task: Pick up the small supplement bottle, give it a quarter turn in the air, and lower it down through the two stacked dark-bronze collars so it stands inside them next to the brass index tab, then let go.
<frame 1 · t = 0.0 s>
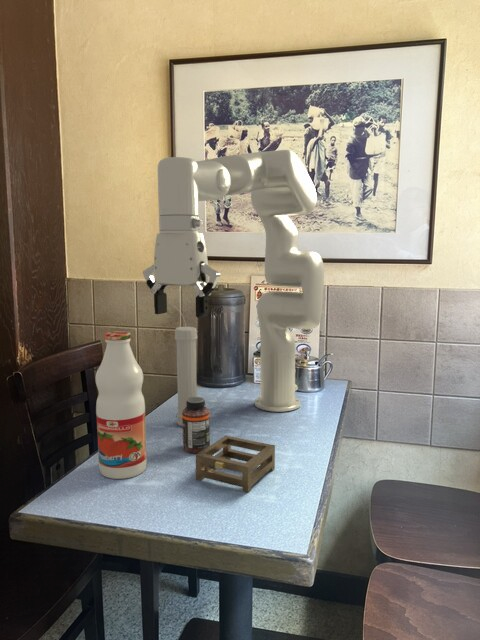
hand: (181, 315, 102), 31 cm above the table, tool pointing down, fingers open, 9 cm apart
supplement bottle: (196, 449, 116), on the table
collar stand: (236, 474, 104), on the table
pipe: (186, 424, 132), on the table
fruit juice: (123, 470, 106), on the table
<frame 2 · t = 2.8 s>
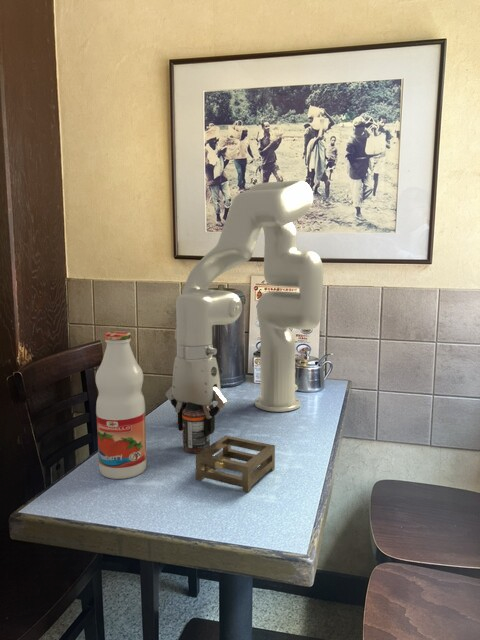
hand: (196, 430, 116), 4 cm above the table, tool pointing down, fingers closed on supplement bottle, 6 cm apart
supplement bottle: (196, 449, 116), on the table, touching gripper
everything else where it was.
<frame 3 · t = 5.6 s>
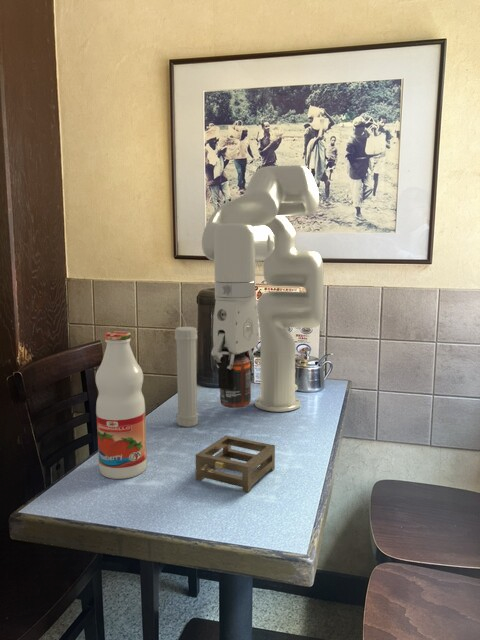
hand: (235, 383, 101), 18 cm above the table, tool pointing down, fingers closed on supplement bottle, 6 cm apart
supplement bottle: (235, 405, 102), point 14 cm above the table, touching gripper
everything else where it was.
when the fingers open (6 cm above the table, at t = 8.6 s): supplement bottle drops 2 cm, resting in collar stand.
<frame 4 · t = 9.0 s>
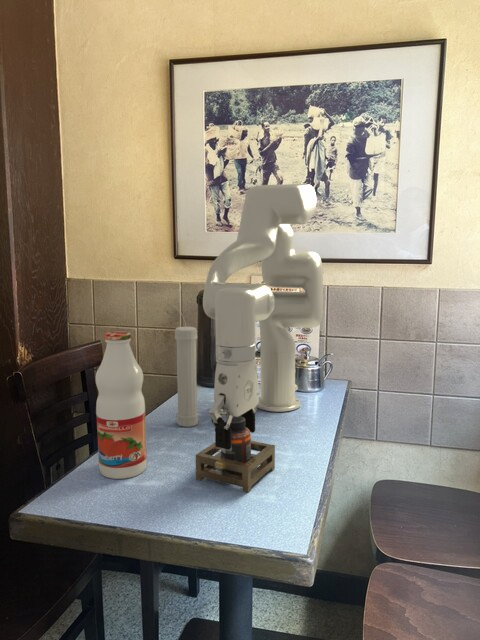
hand: (235, 439, 103), 7 cm above the table, tool pointing down, fingers open, 9 cm apart
supplement bottle: (236, 474, 104), resting in collar stand
everything else where it was.
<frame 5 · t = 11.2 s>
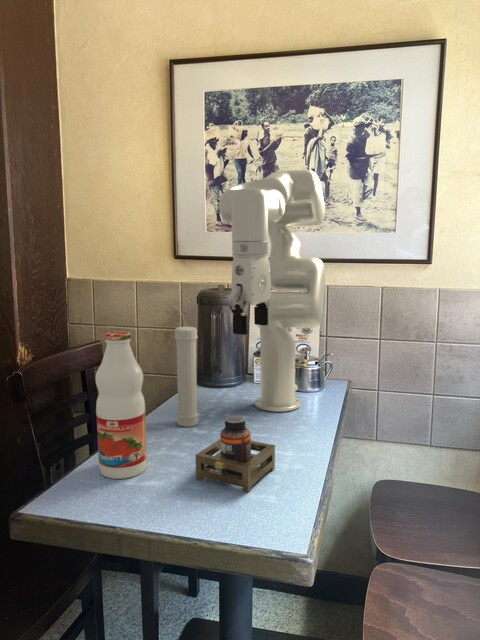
hand: (251, 329, 113), 27 cm above the table, tool pointing down, fingers open, 9 cm apart
nothing on the table moved.
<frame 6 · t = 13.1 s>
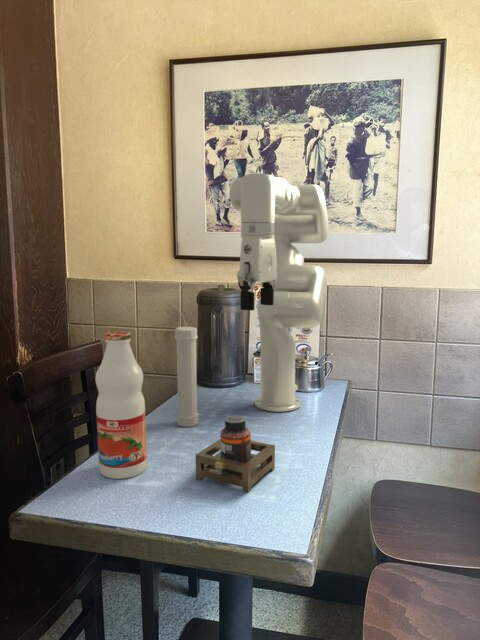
hand: (257, 307, 120), 30 cm above the table, tool pointing down, fingers open, 9 cm apart
nothing on the table moved.
at the end: supplement bottle 0.2 cm off-centre on the collar stand, point 0.0 cm above the collar stand's base; supplement bottle tilted 0°; the gripper is holding nothing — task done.
